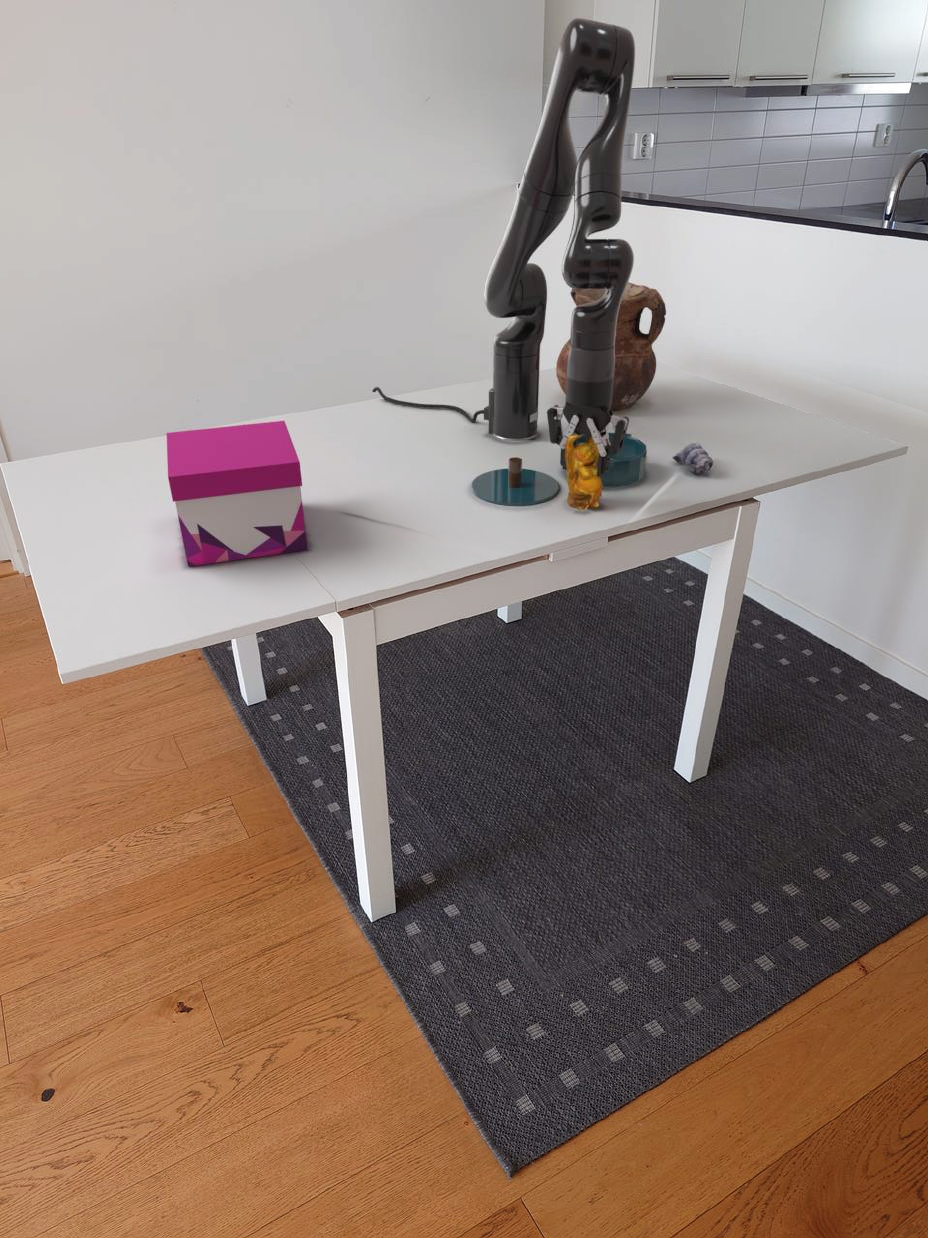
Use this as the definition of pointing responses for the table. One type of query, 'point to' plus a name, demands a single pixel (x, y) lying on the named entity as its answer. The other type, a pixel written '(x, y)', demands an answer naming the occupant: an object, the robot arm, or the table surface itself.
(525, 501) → the lid
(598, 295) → the jug
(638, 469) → the pot
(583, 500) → the figurine
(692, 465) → the seashell
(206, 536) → the decorative box
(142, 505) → the table surface
